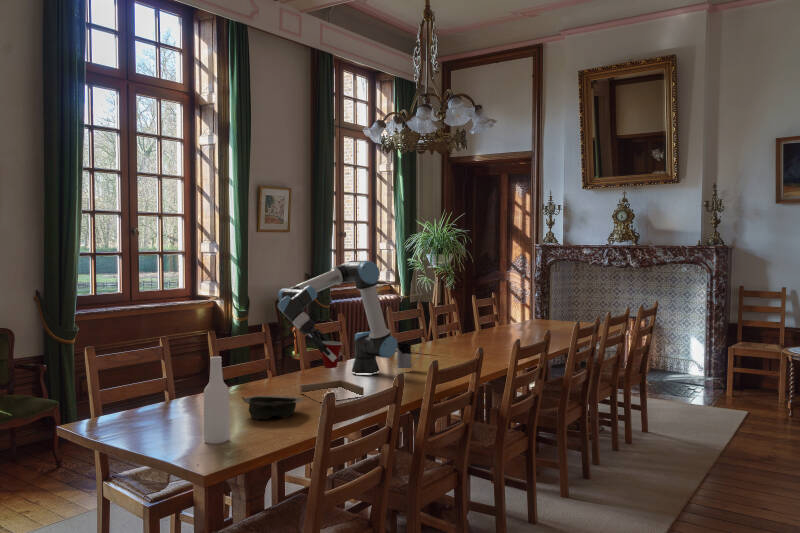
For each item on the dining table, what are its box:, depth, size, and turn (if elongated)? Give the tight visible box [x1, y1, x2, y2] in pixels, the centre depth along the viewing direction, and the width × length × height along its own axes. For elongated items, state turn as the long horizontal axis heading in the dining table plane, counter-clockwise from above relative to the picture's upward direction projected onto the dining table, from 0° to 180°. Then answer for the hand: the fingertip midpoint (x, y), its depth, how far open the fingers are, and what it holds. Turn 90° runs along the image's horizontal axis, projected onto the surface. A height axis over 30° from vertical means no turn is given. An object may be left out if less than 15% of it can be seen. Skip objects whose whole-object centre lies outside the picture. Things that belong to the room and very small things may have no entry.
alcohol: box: [203, 355, 231, 445], centre depth 227 cm, size 9×9×30 cm
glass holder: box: [396, 343, 422, 369], centre depth 359 cm, size 9×14×15 cm, turn 107°
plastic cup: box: [321, 340, 343, 369], centre depth 298 cm, size 11×11×12 cm
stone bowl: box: [242, 395, 304, 421], centre depth 262 cm, size 25×25×9 cm
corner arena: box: [299, 379, 365, 401], centre depth 298 cm, size 22×22×4 cm
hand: (337, 357), depth 297 cm, fingers closed on plastic cup, 10 cm apart
